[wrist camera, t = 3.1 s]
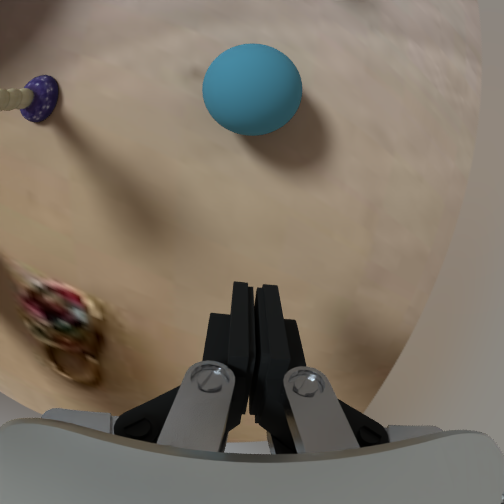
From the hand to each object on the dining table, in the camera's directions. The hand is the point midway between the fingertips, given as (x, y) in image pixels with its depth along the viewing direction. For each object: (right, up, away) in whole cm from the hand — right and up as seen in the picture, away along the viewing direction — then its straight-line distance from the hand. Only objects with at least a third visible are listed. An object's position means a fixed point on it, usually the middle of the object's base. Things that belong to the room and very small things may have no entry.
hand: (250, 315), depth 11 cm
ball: (0, +12, +4) cm, 13 cm away
